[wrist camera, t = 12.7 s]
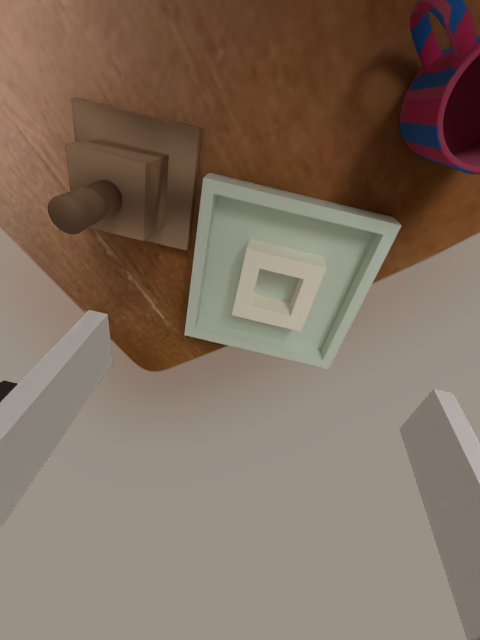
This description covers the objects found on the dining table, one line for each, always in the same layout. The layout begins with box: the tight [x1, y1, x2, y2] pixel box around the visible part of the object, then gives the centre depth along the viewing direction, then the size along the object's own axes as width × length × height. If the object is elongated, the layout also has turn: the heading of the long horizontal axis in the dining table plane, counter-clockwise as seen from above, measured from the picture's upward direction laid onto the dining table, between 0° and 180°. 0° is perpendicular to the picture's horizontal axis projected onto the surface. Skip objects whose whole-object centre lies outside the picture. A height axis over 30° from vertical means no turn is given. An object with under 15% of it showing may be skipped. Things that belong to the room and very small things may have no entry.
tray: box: [184, 173, 402, 369], centre depth 30 cm, size 16×16×2 cm
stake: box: [48, 98, 202, 251], centre depth 23 cm, size 10×10×11 cm
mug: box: [400, 0, 480, 174], centre depth 18 cm, size 7×10×7 cm
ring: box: [232, 239, 327, 332], centre depth 29 cm, size 7×7×2 cm
